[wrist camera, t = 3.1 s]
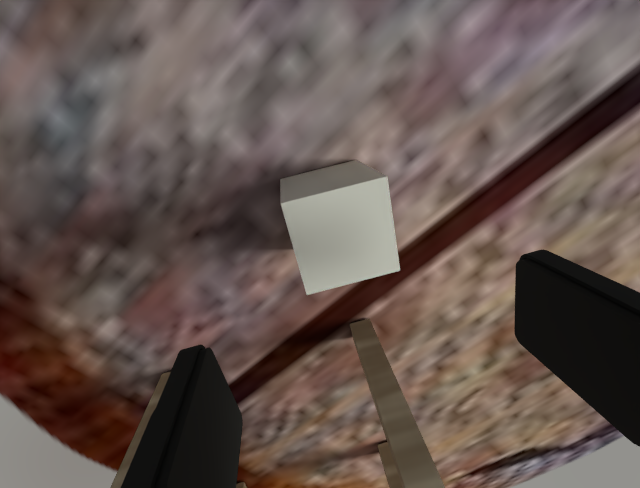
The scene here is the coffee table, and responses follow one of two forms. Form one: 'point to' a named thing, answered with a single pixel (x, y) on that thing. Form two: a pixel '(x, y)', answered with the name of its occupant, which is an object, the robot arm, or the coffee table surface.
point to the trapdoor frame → (396, 418)
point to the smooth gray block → (340, 225)
